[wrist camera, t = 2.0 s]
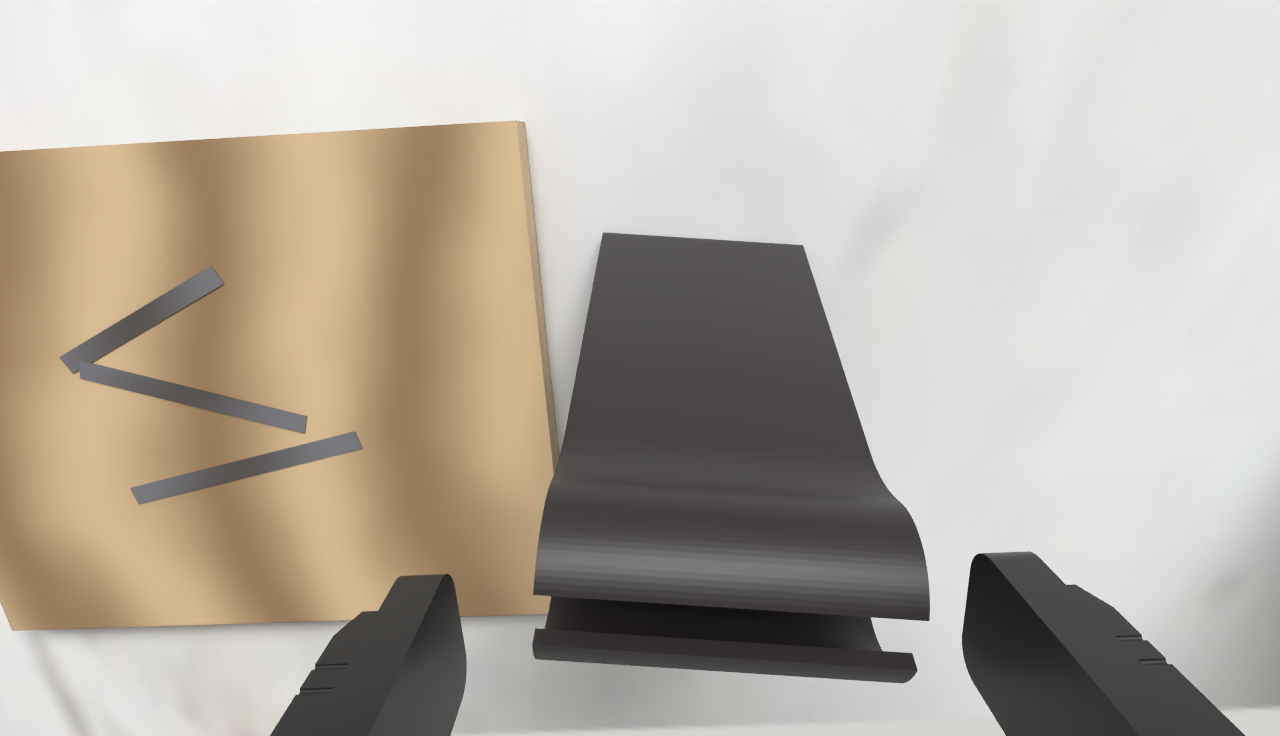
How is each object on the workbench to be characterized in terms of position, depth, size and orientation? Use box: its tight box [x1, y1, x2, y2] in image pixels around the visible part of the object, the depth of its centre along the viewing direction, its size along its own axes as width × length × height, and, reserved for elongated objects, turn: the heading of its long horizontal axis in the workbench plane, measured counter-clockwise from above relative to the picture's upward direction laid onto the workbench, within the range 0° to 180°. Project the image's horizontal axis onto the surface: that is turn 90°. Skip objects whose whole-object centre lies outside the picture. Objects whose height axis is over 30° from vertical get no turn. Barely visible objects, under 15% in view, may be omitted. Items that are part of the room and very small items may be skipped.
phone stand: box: [532, 233, 930, 683], centre depth 16 cm, size 9×6×12 cm, turn 176°
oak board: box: [0, 121, 559, 631], centre depth 21 cm, size 20×16×1 cm
